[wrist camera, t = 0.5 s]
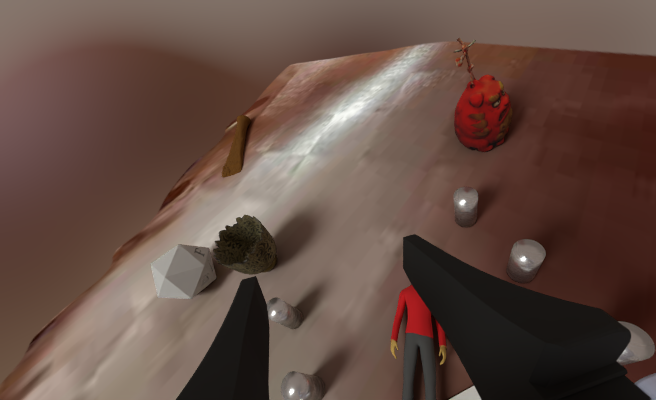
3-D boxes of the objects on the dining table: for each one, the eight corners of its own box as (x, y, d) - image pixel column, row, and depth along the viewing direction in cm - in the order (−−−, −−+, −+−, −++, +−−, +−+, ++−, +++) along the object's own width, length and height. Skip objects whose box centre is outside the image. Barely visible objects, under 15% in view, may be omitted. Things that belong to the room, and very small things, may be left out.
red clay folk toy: (501, 158, 36) (517, 49, 25) (447, 152, 40) (440, 57, 29) (513, 120, 39) (532, 7, 28) (461, 118, 43) (460, 19, 32)
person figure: (385, 456, 20) (400, 241, 30) (381, 446, 23) (396, 255, 33) (457, 478, 19) (448, 248, 29) (442, 465, 22) (439, 262, 32)
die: (216, 309, 40) (205, 255, 37) (152, 320, 38) (134, 264, 35) (221, 276, 48) (213, 228, 44) (168, 284, 46) (155, 234, 42)
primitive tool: (242, 172, 59) (232, 162, 56) (222, 180, 60) (211, 169, 58) (254, 122, 71) (246, 111, 68) (237, 129, 72) (228, 118, 70)
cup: (282, 232, 43) (254, 205, 38) (296, 268, 38) (266, 243, 32) (244, 257, 43) (209, 234, 38) (253, 296, 38) (215, 276, 32)
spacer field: (631, 359, 21) (665, 348, 18) (337, 520, 22) (312, 542, 19) (467, 207, 34) (467, 183, 30) (284, 314, 35) (263, 303, 31)
